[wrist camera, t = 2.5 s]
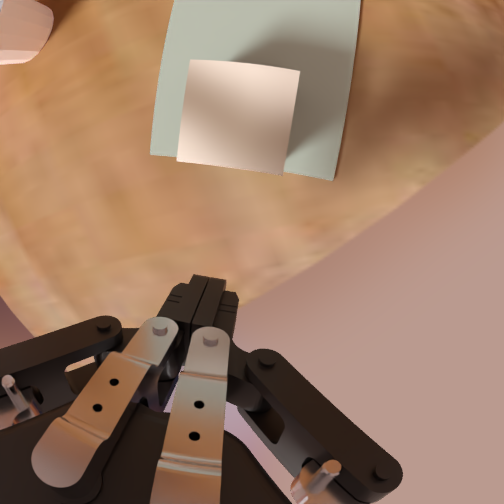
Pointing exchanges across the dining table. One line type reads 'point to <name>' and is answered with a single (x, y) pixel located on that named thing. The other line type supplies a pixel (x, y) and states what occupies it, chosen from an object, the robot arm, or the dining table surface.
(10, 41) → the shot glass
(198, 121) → the copper block
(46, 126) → the dining table surface
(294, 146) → the rubber mat
